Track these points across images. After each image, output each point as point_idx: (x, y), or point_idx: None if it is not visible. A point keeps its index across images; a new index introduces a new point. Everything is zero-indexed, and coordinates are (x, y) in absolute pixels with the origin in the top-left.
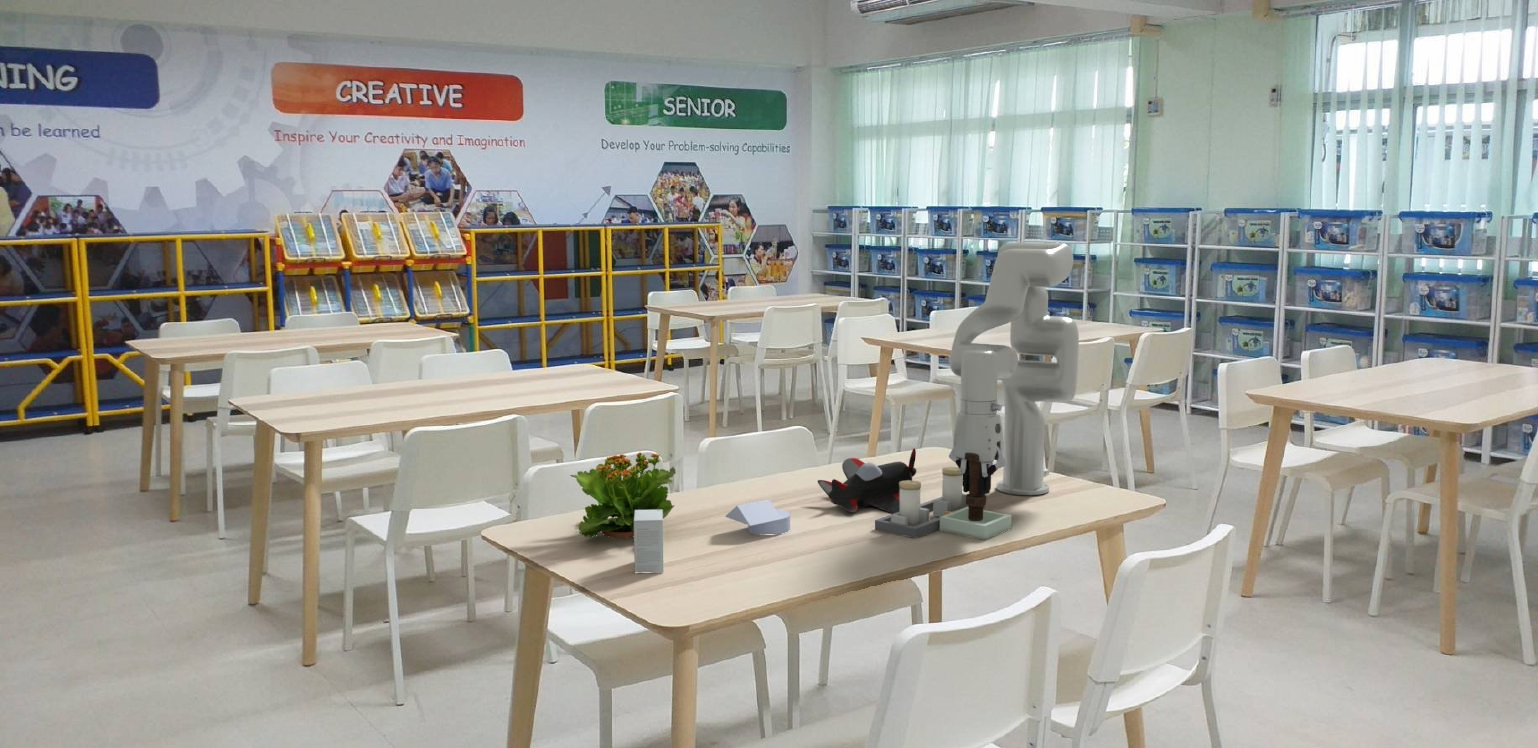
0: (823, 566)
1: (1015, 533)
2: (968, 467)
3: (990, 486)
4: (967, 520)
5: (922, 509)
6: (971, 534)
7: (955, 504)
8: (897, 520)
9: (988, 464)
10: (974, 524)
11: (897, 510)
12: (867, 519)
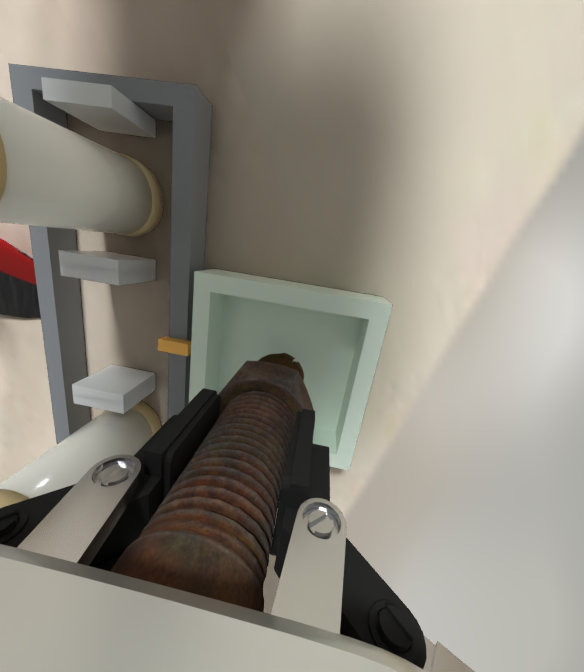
0: None
1: (408, 336)
2: (117, 522)
3: (328, 461)
4: (230, 304)
5: (109, 408)
6: None
7: (129, 221)
8: None
9: (292, 616)
10: None
11: (12, 305)
12: (13, 396)
